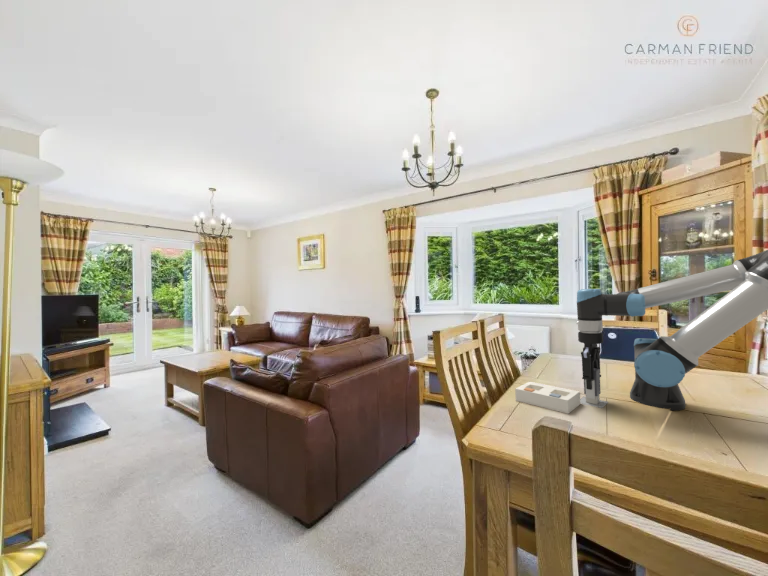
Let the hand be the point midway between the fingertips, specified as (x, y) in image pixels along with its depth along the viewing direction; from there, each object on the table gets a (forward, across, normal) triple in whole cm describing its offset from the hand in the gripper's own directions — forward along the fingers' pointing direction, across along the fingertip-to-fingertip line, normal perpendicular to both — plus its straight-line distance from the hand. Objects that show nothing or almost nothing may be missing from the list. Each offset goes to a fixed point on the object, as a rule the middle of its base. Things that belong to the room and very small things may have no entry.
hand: (592, 396), depth 115 cm
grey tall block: (+2, 0, 0) cm, 2 cm away
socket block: (+3, +10, -12) cm, 16 cm away
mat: (+3, 0, 0) cm, 3 cm away
